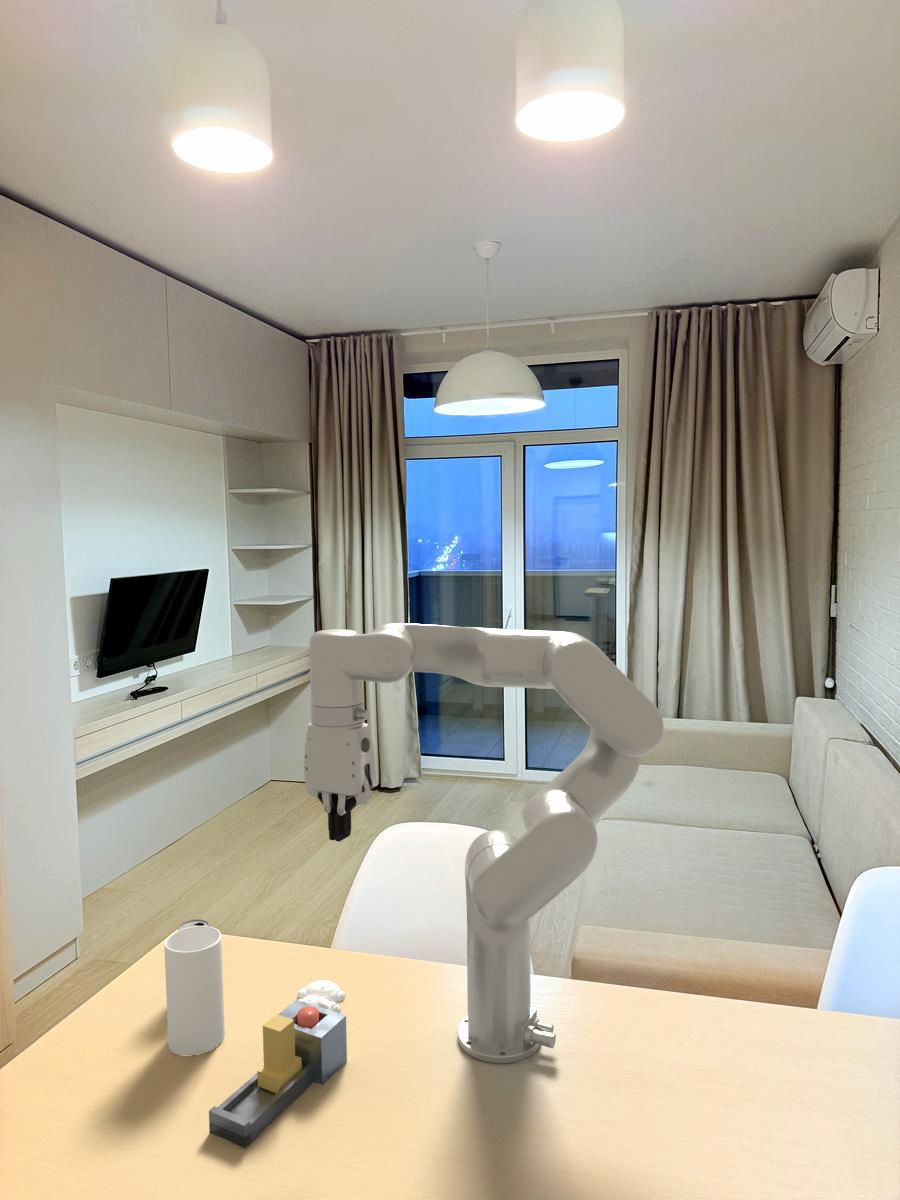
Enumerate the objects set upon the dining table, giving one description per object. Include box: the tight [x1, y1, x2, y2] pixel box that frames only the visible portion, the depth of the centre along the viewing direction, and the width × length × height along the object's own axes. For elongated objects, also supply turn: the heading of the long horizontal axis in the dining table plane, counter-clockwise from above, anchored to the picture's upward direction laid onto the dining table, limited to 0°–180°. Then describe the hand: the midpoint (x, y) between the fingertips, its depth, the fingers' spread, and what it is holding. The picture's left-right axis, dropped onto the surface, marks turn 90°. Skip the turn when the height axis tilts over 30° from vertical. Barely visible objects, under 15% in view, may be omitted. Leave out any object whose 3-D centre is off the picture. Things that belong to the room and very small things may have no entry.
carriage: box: [256, 1013, 302, 1093], centre depth 115 cm, size 4×5×8 cm
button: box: [298, 1006, 319, 1029], centre depth 120 cm, size 3×3×5 cm
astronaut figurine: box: [290, 979, 346, 1014], centre depth 135 cm, size 9×12×3 cm
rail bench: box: [208, 999, 348, 1150], centre depth 114 cm, size 9×20×7 cm, turn 152°
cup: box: [163, 925, 226, 1057], centre depth 126 cm, size 8×8×16 cm
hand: (340, 837), depth 123 cm, fingers closed
